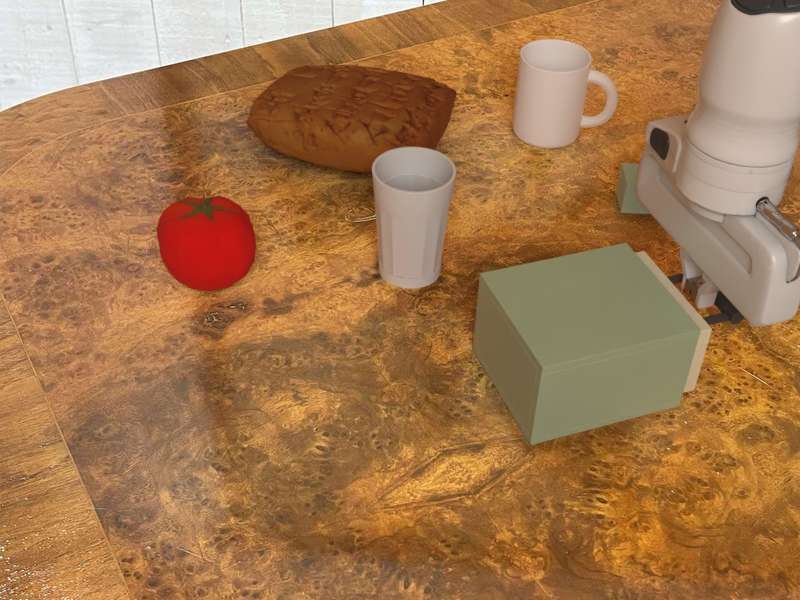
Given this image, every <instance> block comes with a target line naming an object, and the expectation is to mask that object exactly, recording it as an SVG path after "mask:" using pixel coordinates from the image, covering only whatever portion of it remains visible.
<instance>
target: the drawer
mask: <svg viewBox="0 0 800 600" xmlns="http://www.w3.org/2000/svg"><path fill="white" fill-rule="evenodd" d="M635 253H636V254H637V256H638V257H639V258H640V259H641V260H642V261H643V263H644V264H645V265H646V266H647V267H648V268H649V270H650V271H651V272H652V273H653V274H654V275H655V277H656V278H657V279H658V280H659V281H660V282H661V283H662V285H663V286H664V287H665V288H666V289H667V290H668V292H669V293H670V294H671V295H672V296H673V297H674V299H675V300H676V301H677V302H678V303H679V304H680V306H681V307H682V308H683V309H684V310H685V311H686V313H687V314H688V315H689V316H690V317H691V318H692V320H693V321H694V322H695V323H696V324H697V325H698V327H699V328H700V329H701V332H700V335H699V339H698V342H697V346H696V349H695V353H694V356H693V360H692V363H691V367H690V370H689V374H688V377H687V381H686V385H685V388H684V392H683V394H684V393H688V392H692V391H695V389H696V386H697V384H698V383H697V382H698V379H699V376H700V372H701V370H702V366H703V362H704V359H705V355H706V352H707V349H708V345H709V341H710V338H711V335H712V332H713V328H712V327H711V326H712V325H716V324H720V323H721V324H722V323H724V322H728V321H729V323H730V324H731V325H737V324H740V323H742V321H743V320H744V319H745V317H744V316H743V315H742V314H741V313H740V312H739V311H738V310H737V308H736V307H735V306H734V305H733V304H732V303H731V302H730V301H729V300H728V299H727V298H726V296H725V295H724V294H723V293H722V292H721V291H719V292H718V293H717V296H716V299H715V303H714V304H713V305H714V306H715V307H716V308H717V309H718V311H720V313H716V314H711V315H708V316H703V317H702V315H701V314H700V313H699V312H698V310H696V308H695V307H694V306H693V305H692V303H690V301H689V300H688V299H687V298H686V297H685V296H684V294H682V292H681V291H680V290H679V289H678V287H676V286H675V284H679V283H680V284H681V283H682V279H683V272H682V273H677V274H672V275H669V276H667V274H665V273H664V272H663V271H662V269H661V268H660V267H659V266H658V265H657V264H656V262H655V261H654V260H653V259H652V258H651V257H650V256H649V254H647V252H646V251H645V250H642V251H636V252H635Z"/></svg>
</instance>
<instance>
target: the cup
mask: <svg viewBox="0 0 800 600" xmlns="http://www.w3.org/2000/svg"><path fill="white" fill-rule="evenodd" d="M371 174H372V175H371V177H372V187H373V188H372V189H373V198H374V211H375V225H376V226H375V228H376V239H377V240H376V241H377V253H378V273H379V275H380V277H381V278H382V280H384V281H385V282H386V283H388V284H390V285H392V286H393V287H396V288H400V289H406V290H407V289H408V290H409V289H410V290H411V289H412V290H413V289H414V290H415V289H422V288H425V287H428V286H430V285H432V284H433V283H435V282H436V281H437V280H438V279H439V278H440V275H441V273H442V271H441V270H442V256H443V255H442V254H443V250H444V244H445V238H446V232H447V225H448V219H449V213H450V208H451V207H450V206H451V204H452V199H453V194H454V190H455V189H454V188H455V183H456V178H457V167H456V165H455V162H454V161H453V160H452V159H451V158H450V157H449V156H447V155H446V154H445V153H442V152H440V151H438V150H435V149H434V150H432V149H428V148H423V147H401V148H396V149H392V150H389V151H387V152H385V153H383V154H381V155H380V156H378V157H377V158H376V159H375V161H374V162H373V165H372V173H371Z"/></svg>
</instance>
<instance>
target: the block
mask: <svg viewBox="0 0 800 600" xmlns="http://www.w3.org/2000/svg"><path fill="white" fill-rule="evenodd" d="M639 164H640V163H634V162H621V164H620V169H619V174H618V180H617V185H616V188H615V195H616V199H617V203H618V207H619V212H620V213H621V214H630V215H631V214H634V215H635V214H636V215H651V214H650V213H649V212H648V211H647V210H646V209H645V208H644V207H643V206H642V205H641V203H640V202H639V200H638V196H637V191H636V181H637V175H638V169H639Z"/></svg>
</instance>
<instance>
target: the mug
mask: <svg viewBox="0 0 800 600" xmlns="http://www.w3.org/2000/svg"><path fill="white" fill-rule="evenodd" d="M592 62H593V56H592V53H590V51H589V50H588V49H587V48H586V47H584V46H582V45H580V44H579V43H576V42H573V41H569V40H565V39H558V38H542V39H535V40H533V41H529V42H528V43H527V42H526V44H524V45H523V46H522V47H521V48H520V51H519V58H518V66H517V75H516V82H515V83H516V84H515V91H514V92H515V93H514V102H513V103H514V104H513V111H512V120H511V121H512V122H511V124H512V125H511V126H512V132H513V133H514V135H515V136H516V137H517V138H518V140H520V141H521V142H523V143H524V144H526V145H529V146H531V147H534V148H538V149H547V150H551V149H552V150H554V149H555V150H556V149H561V148H565V147H567V146H569V145H571V144H573V143H574V142H576V140H577V139H578V138H579V136H580V133H581V130H582V129H583V128H584V129H590V128H597V127H601V126H602V125H604V124H606V123H607V122H608V121H610V119H612V117H613V116H614V114H615V112H616V111H617V107H618V103H619V93H618V88H617V86H616V84H615V82H614V81H613V79H612V78H610V76H608V75H607V74H606V73H603V72H602V71H600V70H596V69H592ZM589 84H593V85H596V86H599V87H601V88H602V90H603V91H604V92H605V95H606V102H605V106H604V108H603V109H602V111H601V112H599V113H597V114H596V115H584V112H585V107H586V106H585V105H586V101H587V93H588V88H589Z"/></svg>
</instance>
